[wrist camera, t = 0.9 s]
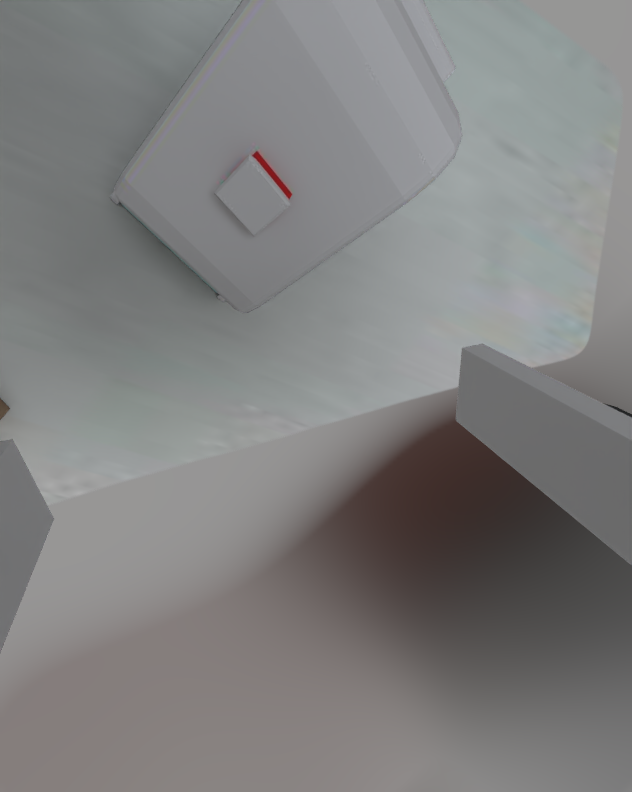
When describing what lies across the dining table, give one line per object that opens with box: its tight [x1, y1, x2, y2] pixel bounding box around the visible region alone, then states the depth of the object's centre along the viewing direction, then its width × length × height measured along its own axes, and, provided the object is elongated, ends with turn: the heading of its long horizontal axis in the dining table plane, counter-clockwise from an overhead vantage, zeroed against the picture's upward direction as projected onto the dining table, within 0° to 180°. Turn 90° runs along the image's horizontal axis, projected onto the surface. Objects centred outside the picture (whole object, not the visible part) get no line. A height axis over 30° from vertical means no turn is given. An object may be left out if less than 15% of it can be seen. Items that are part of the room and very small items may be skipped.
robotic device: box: [110, 0, 462, 313], centre depth 25 cm, size 10×21×20 cm
